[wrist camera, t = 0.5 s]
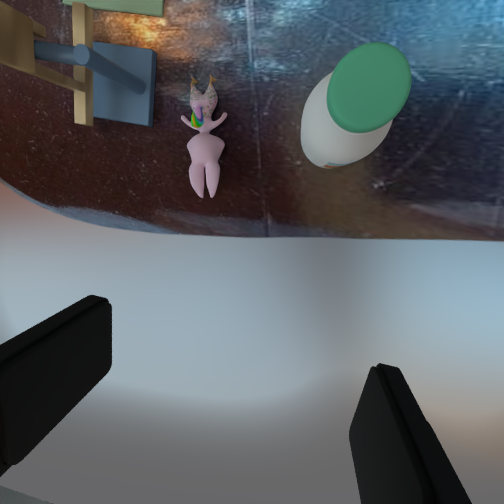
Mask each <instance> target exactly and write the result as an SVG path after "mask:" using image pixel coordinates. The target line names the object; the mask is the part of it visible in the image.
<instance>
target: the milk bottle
mask: <svg viewBox="0 0 504 504" xmlns="http://www.w3.org/2000/svg"><path fill="white" fill-rule="evenodd" d="M410 88H411V70H410V66H409V63H408V61H407V59H406V57H405V56H404V55H403V53H402V52H401V51H400V50H398V49H397V48H396V47H394V46H392V45H390V44H387V43H382V42H371V43H367V44H363V45H361V46H359V47H357V48H355V49H353V50H352V51H350V52H349V53H348V54H347V55H345V56H344V57H343V58H342V60H341V61H340V62H339V63H338V65H337V66H336V68H335V69H334V71H333V72H332V73H330V74H329V75H327V76H326V77H325V78H323V79H322V80H321V81H320V82H319V83H318V84H317V85H316V87H315V88H314V89H313V91H312V92H311V94H310V96H309V97H308V99H307V102H306V104H305V107H304V111H303V115H302V121H301V145H302V149H303V151H304V153H305V155H306V157H307V158H308V159H309V160H310V161H311V162H312V163H314V164H315V165H317V166H319V167H323V168H337V167H341V166H344V165H347V164H350V163H353V162H356V161H358V160H360V159H362V158H364V157H365V156H367V155H368V154H370V153H371V152H372V151H374V150H375V149H376V148H377V147H378V145H379V144H380V143H381V142H382V141H383V139H384V138H385V136H386V135H387V133H388V131H389V129H390V126H391V124H392V121H393V118H394V117H395V116H396V115H397V114H398V113H399V112H400V110H401V109H402V108H403V106H404V104H405V102H406V100H407V98H408V95H409V92H410Z"/></svg>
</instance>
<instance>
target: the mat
mask: <svg viewBox="0 0 504 504" xmlns="http://www.w3.org/2000/svg"><path fill="white" fill-rule="evenodd" d="M72 2H79V3H85V4H86V5H87V6H89V7H90V8H92V9H100V10H108V11H116V12H124V13H132V14H140V15H148V16H157V17H163V10H164V0H63V4H64V5H68V6H72Z"/></svg>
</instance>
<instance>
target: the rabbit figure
mask: <svg viewBox="0 0 504 504" xmlns="http://www.w3.org/2000/svg"><path fill="white" fill-rule="evenodd" d="M191 78H192V76H191ZM215 81H217V79H216V80H215V78H213V77H212V76H211V75H210V83H209V86H208V88H207V90H206V92H205V94H204V95H203V94H202V93H201V92H200V91H199V90H197V89H196V87H195V86H194V84H196V83H197V81H196V80H195V79H194V78H192V83H191V96H190V105H191V107H192V109H193V113H192V116H191V122H190V121H188V120H187V118H186V117H185V116H181V119H182V120H183V121H184V122H185V123H186V124H187V125H188V126H190V127H191V128H193V129H196V130H198V131H200V134H198V135H196V136H194V137H193V138H192V139H191V140H190V141H189V142H188V144H187V148H188V150H189V152H190V155H191V159H192V164H191V166H190V169H189V176H190V181H191V184H192V187H193V188H194V190H195V192H196V193H197V194H198V195H199V196H200V197H201V198H203V191H204V167H206V182H207V187H208V190H209V193H210V196H211V198H212V197H214V195H215V192H216V189H217V185H218V181H219V175H220V167H219V164H218V159H219V157H220V155H221V153H222V150H223V148H224V146H225V144H224V142H223V141H222V140H221V139H220V138H219V137H216V136H213V135H210V134H209V132H210V131H211V130H212V129H214V128H215V127H217V126H218V125H219V124H221V123H222V122H223V120H224V119H225V118H226V117H227V113H226V112H225V113H223V114H222V116H221V118H220V119H218V120H217V121H212V119H211V115H212V113H213V111H214V109H215V107H216V105H217V101H218V97H217V93H216V91H215V89H214V87H213V86H212V82H214V83H215ZM198 83H199V82H198Z"/></svg>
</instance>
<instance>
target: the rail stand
mask: <svg viewBox="0 0 504 504" xmlns="http://www.w3.org/2000/svg"><path fill="white" fill-rule="evenodd" d="M34 56H35V59H38V60H45V61H51V62H58V63H65V64H71V65H78V66H84V67H86V68H88V69H90V70H92V71H93V117H98V118H104V119H109V120H115V121H121V122H126V123H132V124H138V125H144V126H149V127H153V111H154V95H155V78H156V62H157V53H156V52H155V51H153V50H152V49H145V48H138V47H131V46H124V45H116V44H109V43H102V42H95V41H93V50H92V49H91V48H89V47H88V46H86V45H84V44H77V45H76V46H71V45H64V44H57V43H50V42H43V41H36V40H34Z"/></svg>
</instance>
